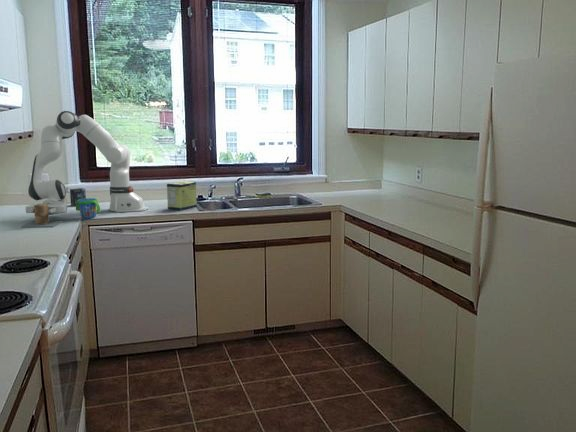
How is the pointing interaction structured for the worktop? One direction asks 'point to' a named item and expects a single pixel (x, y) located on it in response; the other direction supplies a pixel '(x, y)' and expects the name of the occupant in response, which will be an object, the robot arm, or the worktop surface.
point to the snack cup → (87, 207)
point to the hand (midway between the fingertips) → (40, 211)
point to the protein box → (181, 195)
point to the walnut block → (41, 214)
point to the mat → (33, 224)
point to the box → (77, 195)
